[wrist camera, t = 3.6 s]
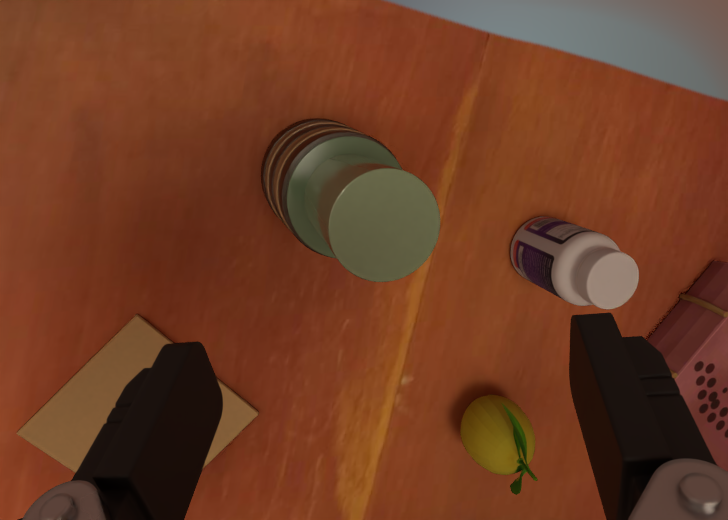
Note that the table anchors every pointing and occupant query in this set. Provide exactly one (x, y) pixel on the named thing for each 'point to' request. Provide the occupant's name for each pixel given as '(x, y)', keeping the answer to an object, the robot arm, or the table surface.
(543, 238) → the pill bottle
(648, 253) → the table surface
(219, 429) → the mat
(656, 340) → the book
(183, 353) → the robot arm
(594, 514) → the table surface
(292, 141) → the stack
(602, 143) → the table surface
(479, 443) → the lemon
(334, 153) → the ring spool
